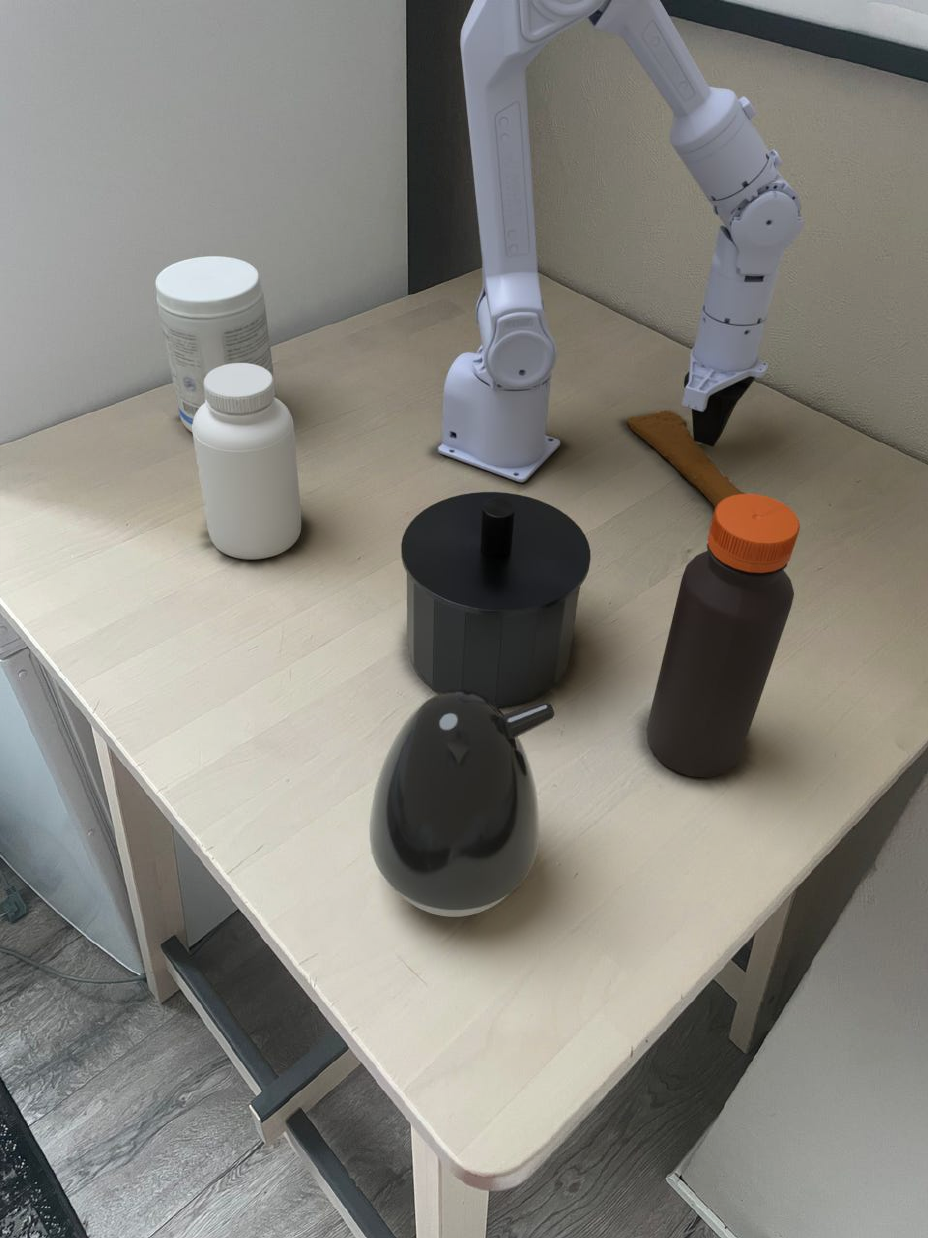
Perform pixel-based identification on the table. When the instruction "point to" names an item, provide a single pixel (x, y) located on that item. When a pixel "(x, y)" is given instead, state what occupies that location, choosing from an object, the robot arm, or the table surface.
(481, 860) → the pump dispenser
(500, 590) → the pot lid
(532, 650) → the pot
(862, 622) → the table surface
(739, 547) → the bottle
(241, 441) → the pill bottle
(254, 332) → the supplement tub
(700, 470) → the primitive tool
